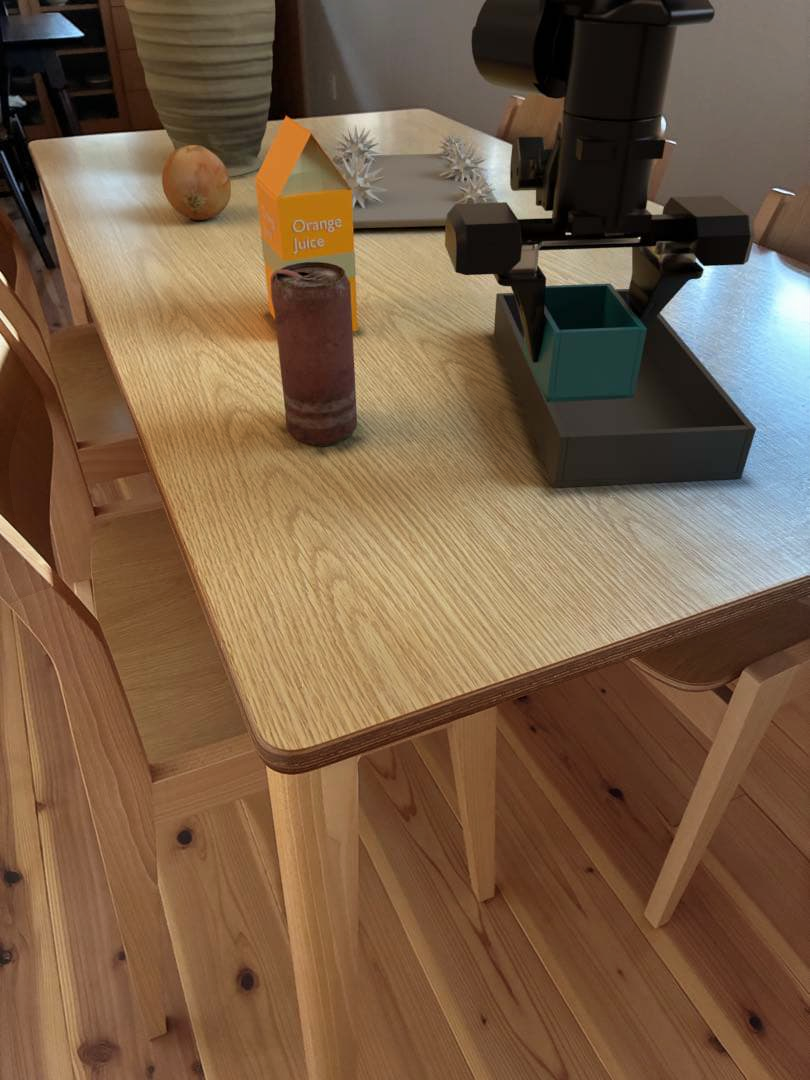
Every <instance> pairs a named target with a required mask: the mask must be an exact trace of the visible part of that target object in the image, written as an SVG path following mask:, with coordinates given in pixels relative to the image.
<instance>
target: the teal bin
mask: <svg viewBox="0 0 810 1080" xmlns="http://www.w3.org/2000/svg"><path fill="white" fill-rule="evenodd" d="M615 289H616V288H615V286H614V285H612V283H610V282H609V283H607V282H606V283H584V284H581V283H580V284H560V285H559V284H557V285H555V284H554V285H546V290H545V306H544V322H543V338H542V345H541V349H540V354H539V358H538V362H537V363H533V362H532V360H531V358H530V355H529V351H528V347H527V343H526V339H525V334H524V341H523V353H524V355H525V358H526V360H527V362H528V364H529V366H530V368H531V370H532V372H533V374H534V376H535V379H536V381H537V383H538V385H539V387H540V389H541V391H542V393H543V395H544V397H545V399H546V402H566V401H587V400H607V399H628V398H634V393H635V388H636V382H637V377H638V372H639V367H640V361H641V356H642V351H643V346H644V340H645V335H646V330H647V328H646V327H645V326H644V325H643V323H642V322H641V321H640V320H639V318H638V317H637V316H636V315H635V313H634V312H633V311H632V310H631V308H630V307H629V306H628V305H627V303H626V302H625V301H624V300H623V298H622V297H621V296H620V295H619V293H618V292H617V291H616V290H615Z"/></svg>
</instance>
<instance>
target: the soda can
mask: <svg viewBox="0 0 810 1080" xmlns="http://www.w3.org/2000/svg"><path fill="white" fill-rule="evenodd" d="M270 281H271V299H272V304H273V308H274V314H275V319H274V321H275V322H274V323H275V331H276V340H277V348H278V359H279V367H280V378H281V384H282V385H281V386H282V394H283V404H284V413H285V422H286V423H285V424H286V428H287V431H288V433H289V435H291V437H292V438H293V439H295V440H296V441H297V442H298V443H301V444H303V445H306V446H311V447H330V446H336V445H337V444H340V443H343V442H345V441H346V440H348V439H350V437H351V436H352V435H353V433H354V432H355V430H356V429H357V427H358V412H357V395H356V393H357V391H356V373H355V369H356V368H355V352H354V351H355V350H354V332H353V328H352V307H351V286H350V281H349V280H348V278H347V276H346V274H345V271H344V269H343V268H341V267H339V266H337V265H334V264H330V263H323V262H304V263H297V264H292V265H288V266H286V267H284V268H281V269H277V270H276V271H275V272H273V273H272V276H271V278H270Z"/></svg>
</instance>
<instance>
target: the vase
mask: <svg viewBox="0 0 810 1080" xmlns="http://www.w3.org/2000/svg"><path fill="white" fill-rule="evenodd" d="M123 1H124V7H125V8H126V10H127V14H128V18H129V22H130V24H131V27H132V32H133V37H134V40H135V45H136V51H137V52H136V53H137V56H138V58H139V60H140V62H141V66H142V68H143V72H144V80H145V85H146V88H147V90H148V92H149V94H150V95H149V96H150V98H151V101H152V106H153V107H154V109H155V111H156V112H157V116H158V119H159V121H160V122H161V124H162V126H163V128H164V130H165V132H166V134H167V136H168V137H169V140H170V141H171V143H172V145H173V149H174V151H175V150H177V149H179V148H182V147H185V146H189V145H198V146H202V147H204V148H206V149H208V150H209V151H211V152H212V153H213V154H215V155H216V156H217V157H218V158H219V159H220V160H221V161H222V162H223V164H224V166H225V167H226V169H227V172H228V174H229V177H230V178H231V177H239V176H243V175H246V174H249V173H252V172H254V171H258V170H260V168H261V166H262V164H263V162H261V161H260V160H259V154H260V152H261V149H262V142H263V139H264V137H265V135H266V131H267V124H268V119H269V110H270V108H271V96H272V95H271V94H272V92H273V88H272V87H273V86H272V73H273V65H274V64H273V56H274V53H273V44H274V41H275V27H276V26H275V25H276V2H275V1H276V0H123Z"/></svg>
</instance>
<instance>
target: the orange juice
mask: <svg viewBox="0 0 810 1080" xmlns="http://www.w3.org/2000/svg"><path fill="white" fill-rule="evenodd" d="M273 139H274V140H273V141H272V144H271V145H270V148H269V150H268V152H267V154H266V156H265V157H264V159H263V162H262V165H261V167H260V168H259V169H258V171H257V174H256V176H254V181H255V182H254V183H255V192H256V201H257V209H258V215H259V225H260V241H261V247H262V258H263V262H264V271H265V280H266V288H267V299H268V306H269V314H270V315H271V316H272V318H273V319H274V320H275V314H274V308H273V304H272V299H271V281H270V278H271V276H272V273H273V272H275V271H276V270H277V269H281V268H284V267H286V266H288V265H292V264H297V263H304V262H323V263H330V264H334V265H337V266H339V267H341V268H343V269H344V271H345V274H346V276H347V278H348V280H349V281H350V286H351V307H352V328H353V333H354V332H358V330H359V328H358V308H357V305H358V304H357V286H356V283H357V282H356V275H357V274H356V254H355V253H356V252H355V239H354V238H355V236H354V228H353V212H352V189H351V188H350V187H349V185H348V184H347V182H346V181H345V180H344V178H343V177H342V175H341V174H340V173H339V171H338V170H337V168H336V167H335V166H334V164H333V163H332V161H331V160H332V159H331V158H330V157H329V156H328V154H327V153H326V152H325V150H324V149H323V147H322V145H320V143H319V141H318V140H317V139H316V138H315V136H314V135H313V133H312V132H311V131H310V130H309V129H307V128H306V127H304V126H303V125H301V124H300V123H298V122H297V121H295V120H294V119H293V118H290V117H289V116H288V115H286V114H285V117H284V119H283V121H282V123H281V125H280V127H279V129H278V132H277V133H276V135H275V138H273Z"/></svg>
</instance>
